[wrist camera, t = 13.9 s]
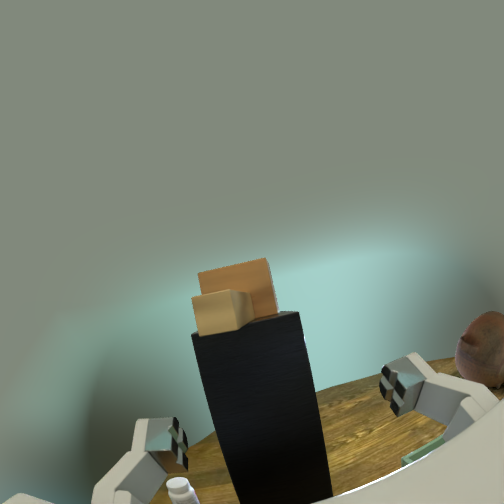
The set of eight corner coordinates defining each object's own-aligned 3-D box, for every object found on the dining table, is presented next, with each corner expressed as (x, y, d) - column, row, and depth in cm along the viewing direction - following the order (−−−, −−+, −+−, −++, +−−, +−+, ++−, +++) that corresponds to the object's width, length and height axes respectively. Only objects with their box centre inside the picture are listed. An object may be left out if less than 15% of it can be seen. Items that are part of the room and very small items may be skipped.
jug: (451, 381, 60) (499, 435, 30) (438, 327, 61) (498, 370, 31) (500, 346, 56) (557, 381, 27) (490, 291, 57) (559, 312, 28)
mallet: (273, 322, 17) (254, 234, 18) (168, 341, 17) (153, 259, 18) (279, 311, 32) (268, 263, 33) (219, 323, 32) (210, 276, 33)
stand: (341, 561, 16) (298, 311, 23) (272, 578, 15) (190, 334, 22) (324, 527, 25) (281, 310, 32) (266, 541, 24) (202, 327, 31)
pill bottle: (208, 510, 34) (195, 479, 36) (192, 522, 30) (177, 492, 32) (189, 503, 36) (176, 473, 38) (173, 515, 32) (158, 484, 34)
